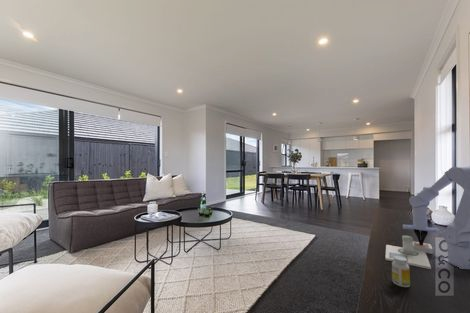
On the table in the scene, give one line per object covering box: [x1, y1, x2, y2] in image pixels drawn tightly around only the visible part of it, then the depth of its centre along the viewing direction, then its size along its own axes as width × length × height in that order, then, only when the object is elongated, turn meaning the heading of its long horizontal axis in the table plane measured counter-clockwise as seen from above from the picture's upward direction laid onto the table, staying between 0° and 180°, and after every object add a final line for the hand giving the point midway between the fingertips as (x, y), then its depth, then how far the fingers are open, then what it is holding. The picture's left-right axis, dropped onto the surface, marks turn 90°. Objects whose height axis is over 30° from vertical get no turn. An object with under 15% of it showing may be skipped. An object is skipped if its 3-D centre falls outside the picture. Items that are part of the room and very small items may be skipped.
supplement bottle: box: [391, 256, 411, 288], centre depth 81 cm, size 5×5×10 cm
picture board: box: [384, 244, 432, 270], centre depth 104 cm, size 20×16×1 cm
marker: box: [401, 235, 414, 254], centre depth 106 cm, size 4×4×8 cm
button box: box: [413, 240, 434, 255], centre depth 111 cm, size 8×8×2 cm
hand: (421, 244), depth 112 cm, fingers closed, pressing on done button
